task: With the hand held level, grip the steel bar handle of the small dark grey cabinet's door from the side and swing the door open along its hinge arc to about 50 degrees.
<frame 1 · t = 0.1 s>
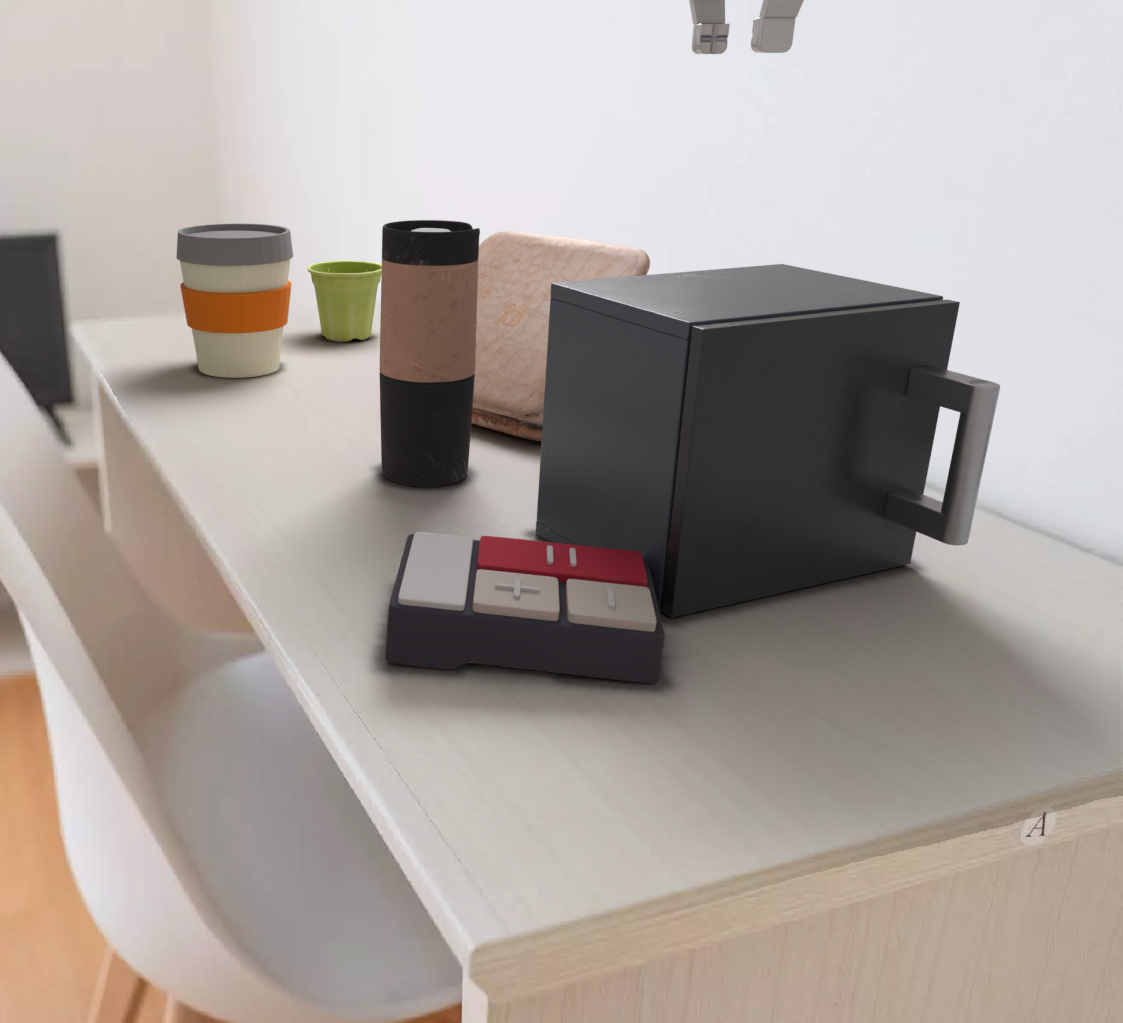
hand: (737, 53, 69), 32 cm above the table, tool pointing down, fingers open, 8 cm apart
plant pot: (346, 338, 144), on the table
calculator: (521, 634, 69), on the table
reusable coffee cup: (239, 369, 129), on the table
dark grey cabinet: (710, 546, 81), on the table
case: (529, 408, 114), on the table
travel mug: (424, 475, 96), on the table
dark grey door: (845, 469, 69), point 9 cm above the table, hinge at 0.0°
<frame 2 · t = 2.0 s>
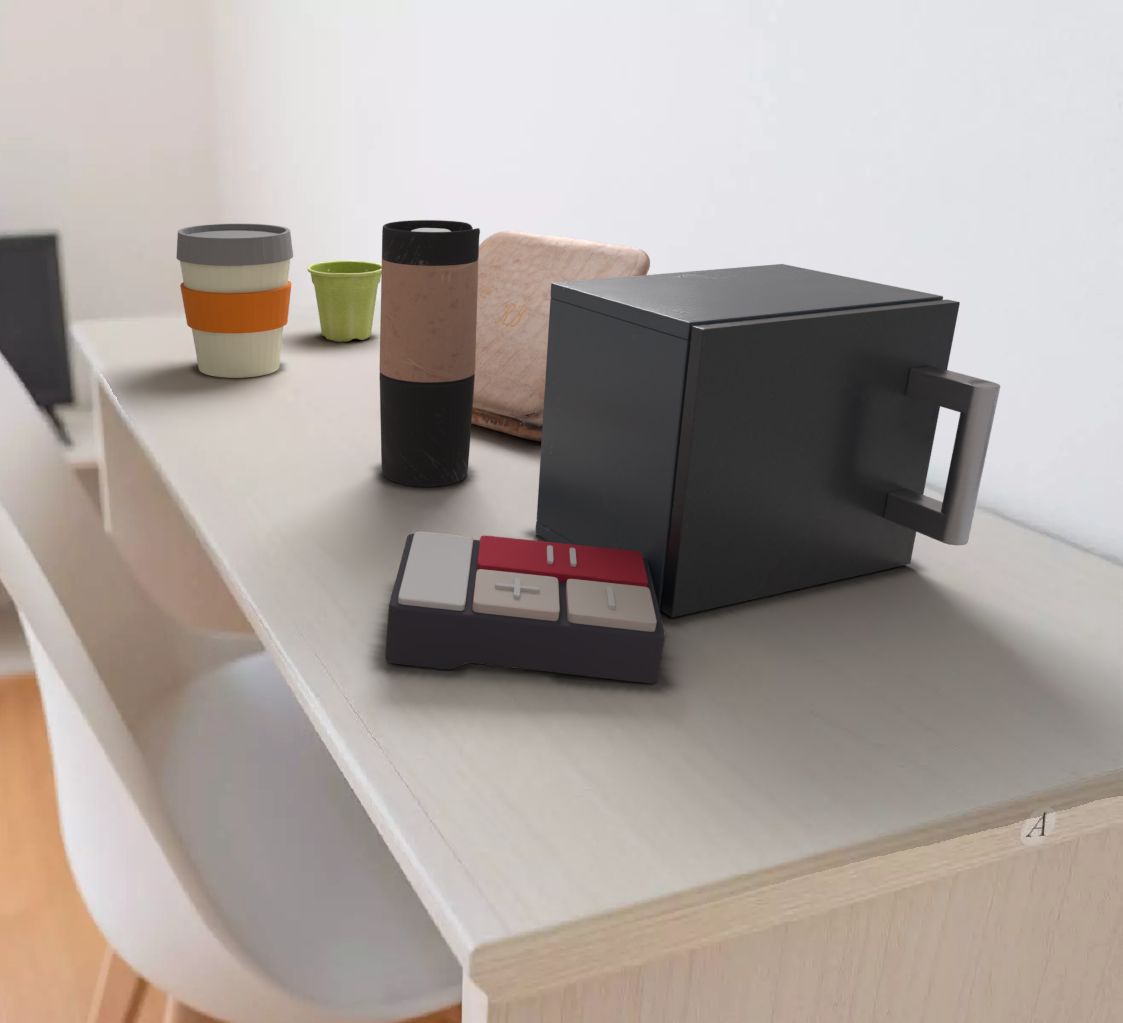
nothing on the table moved.
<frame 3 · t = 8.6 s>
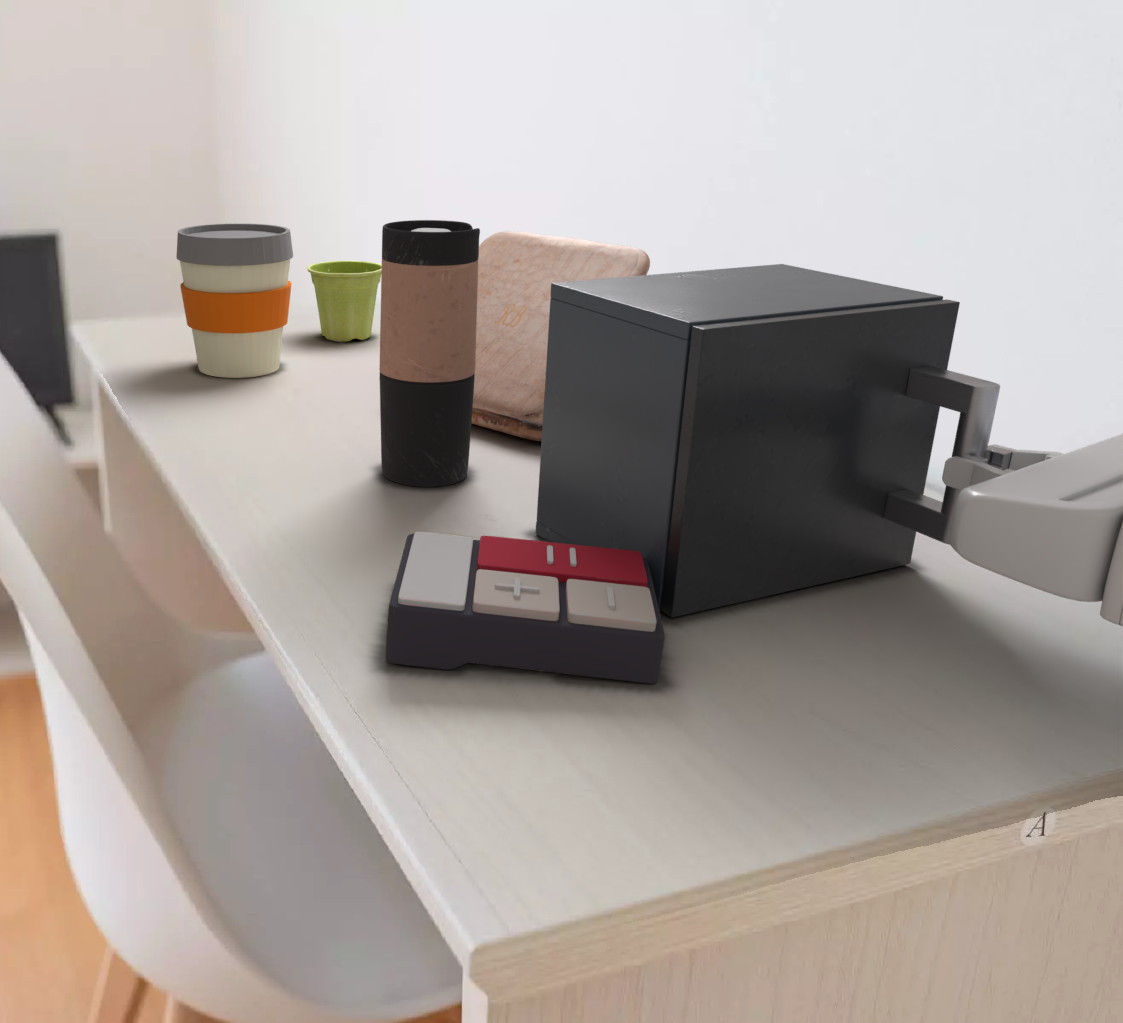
hand: (964, 463, 70), 9 cm above the table, tool horizontal, fingers closed on dark grey door, 2 cm apart
dark grey door: (845, 469, 69), point 9 cm above the table, hinge at 0.0°, touching gripper
everything else where it was.
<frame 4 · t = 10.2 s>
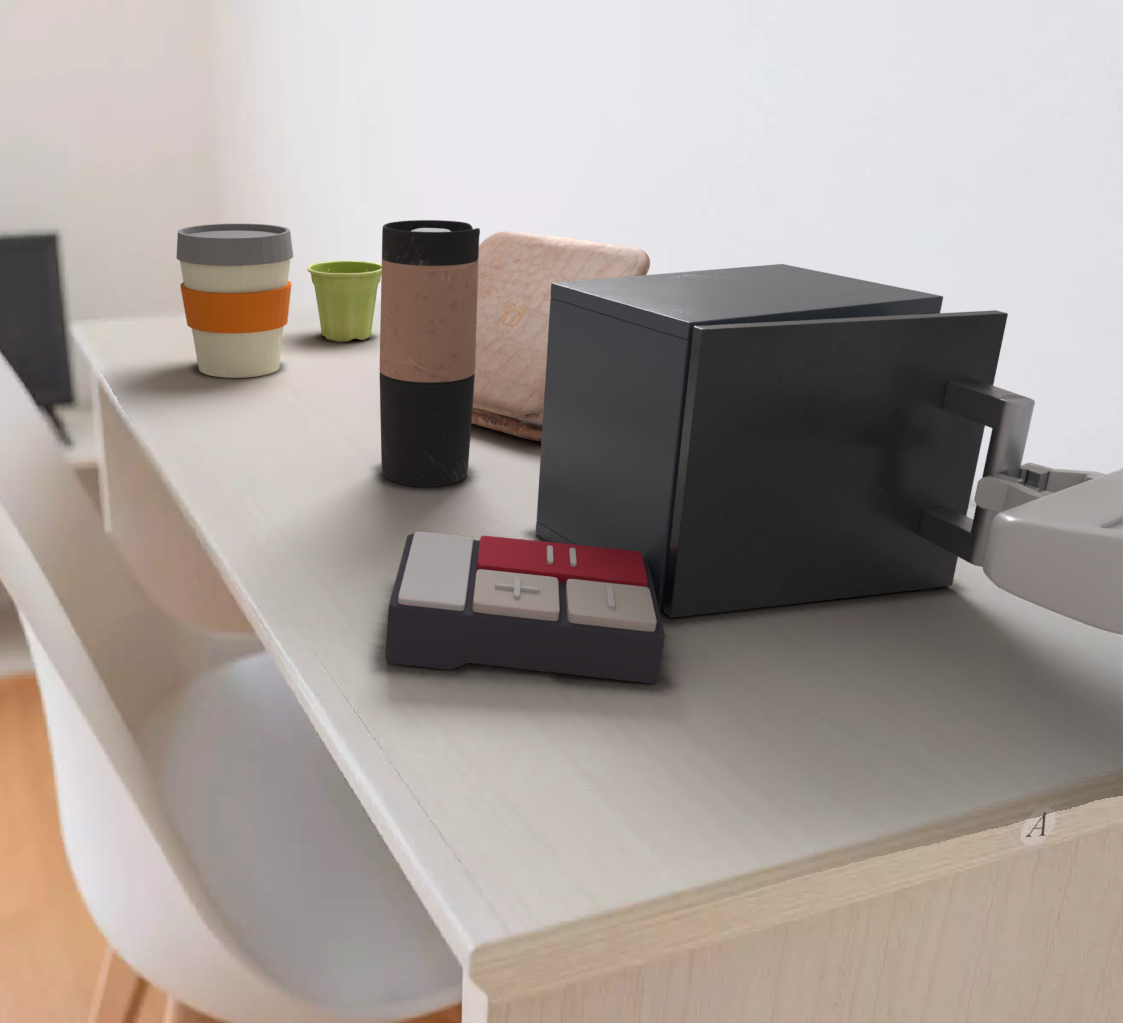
hand: (998, 482, 67), 9 cm above the table, tool horizontal, fingers closed
dark grey door: (860, 479, 67), point 9 cm above the table, hinge at 10.6°, touching gripper
everything else where it was.
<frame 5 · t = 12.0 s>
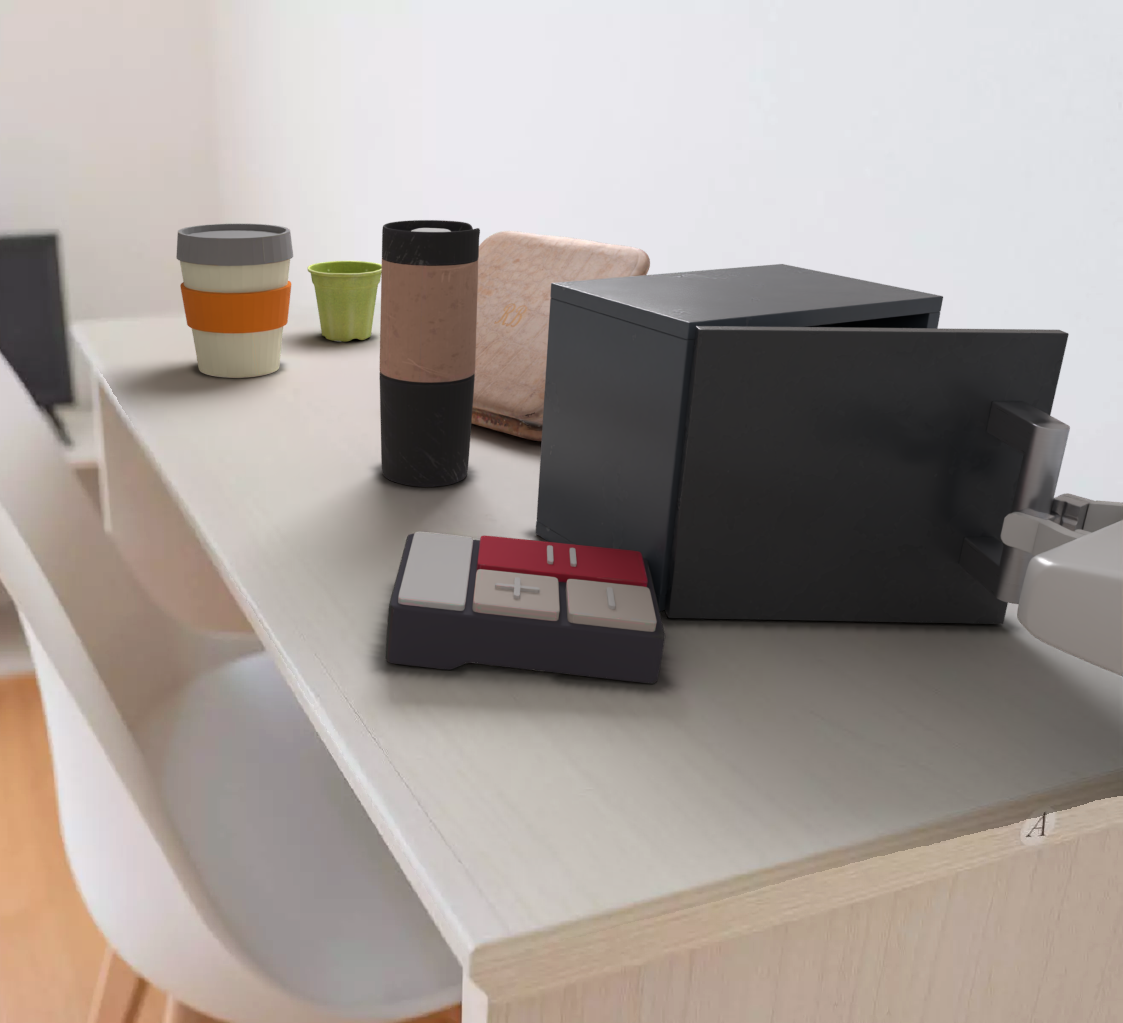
hand: (1029, 516, 62), 9 cm above the table, tool horizontal, fingers closed
dark grey door: (872, 496, 64), point 9 cm above the table, hinge at 26.5°, touching gripper
everything else where it was.
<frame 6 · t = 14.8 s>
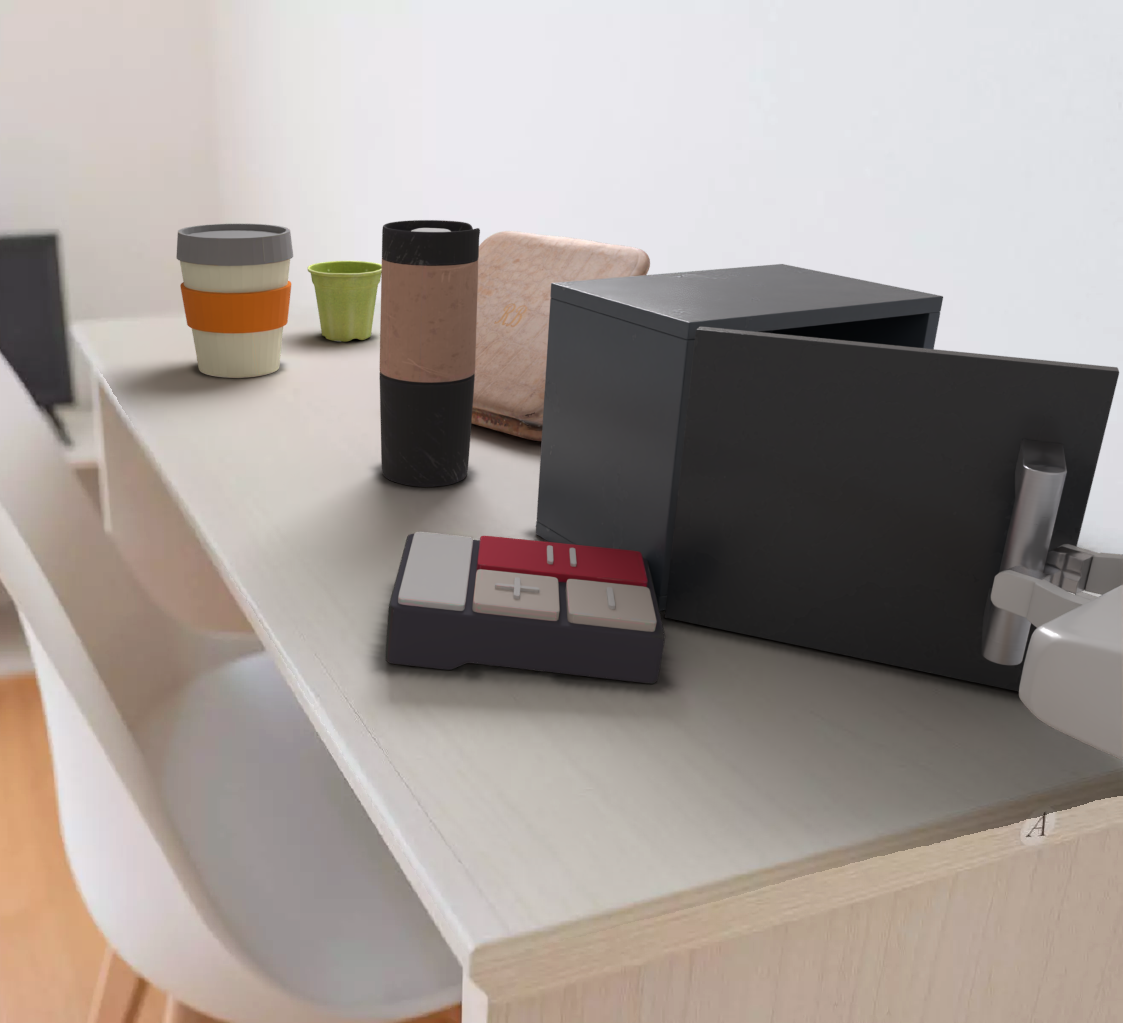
hand: (1024, 572, 55), 9 cm above the table, tool horizontal, fingers open, 3 cm apart
dark grey door: (860, 522, 61), point 9 cm above the table, hinge at 52.2°, touching gripper
everything else where it was.
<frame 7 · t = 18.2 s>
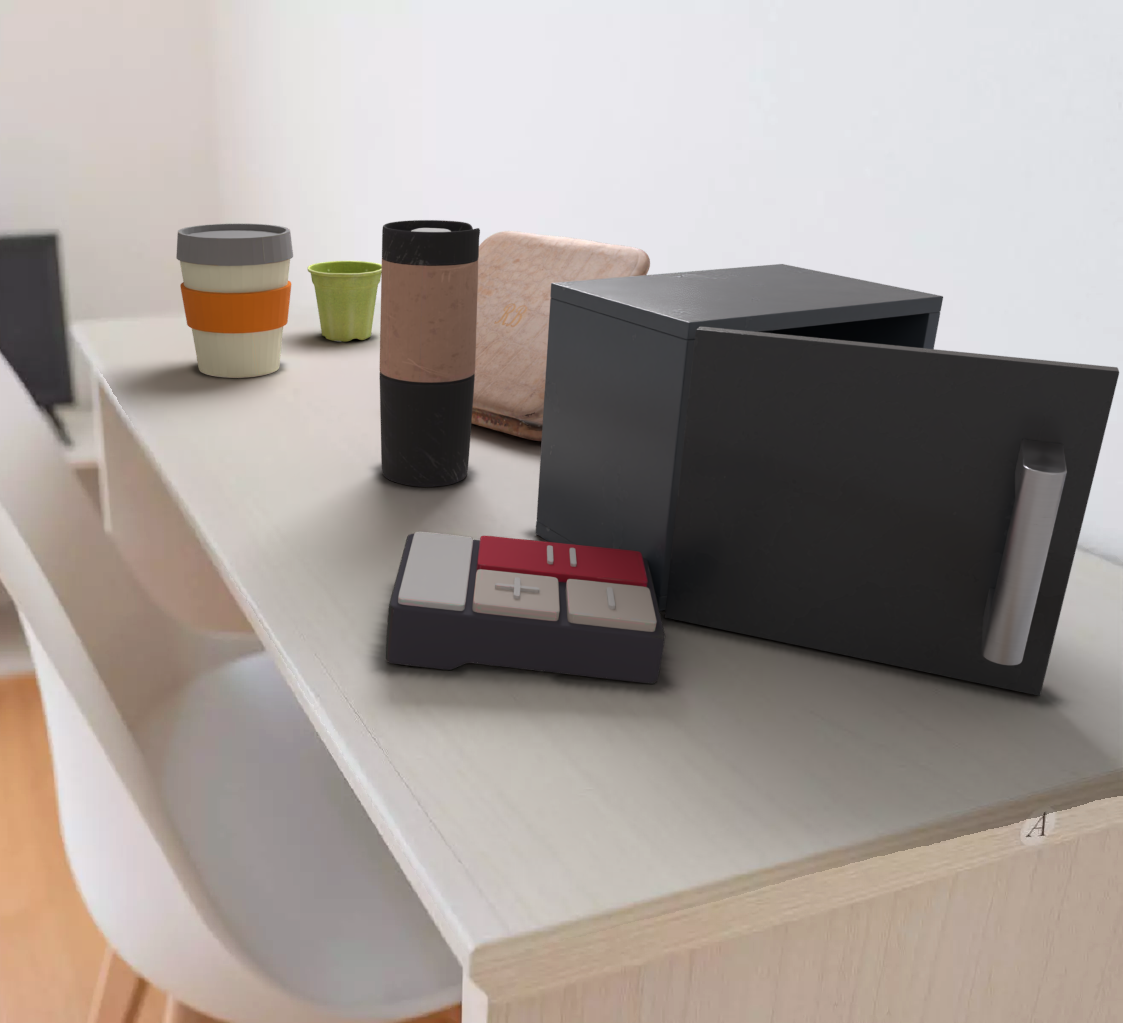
dark grey door: (860, 522, 61), point 9 cm above the table, hinge at 52.2°
everything else where it was.
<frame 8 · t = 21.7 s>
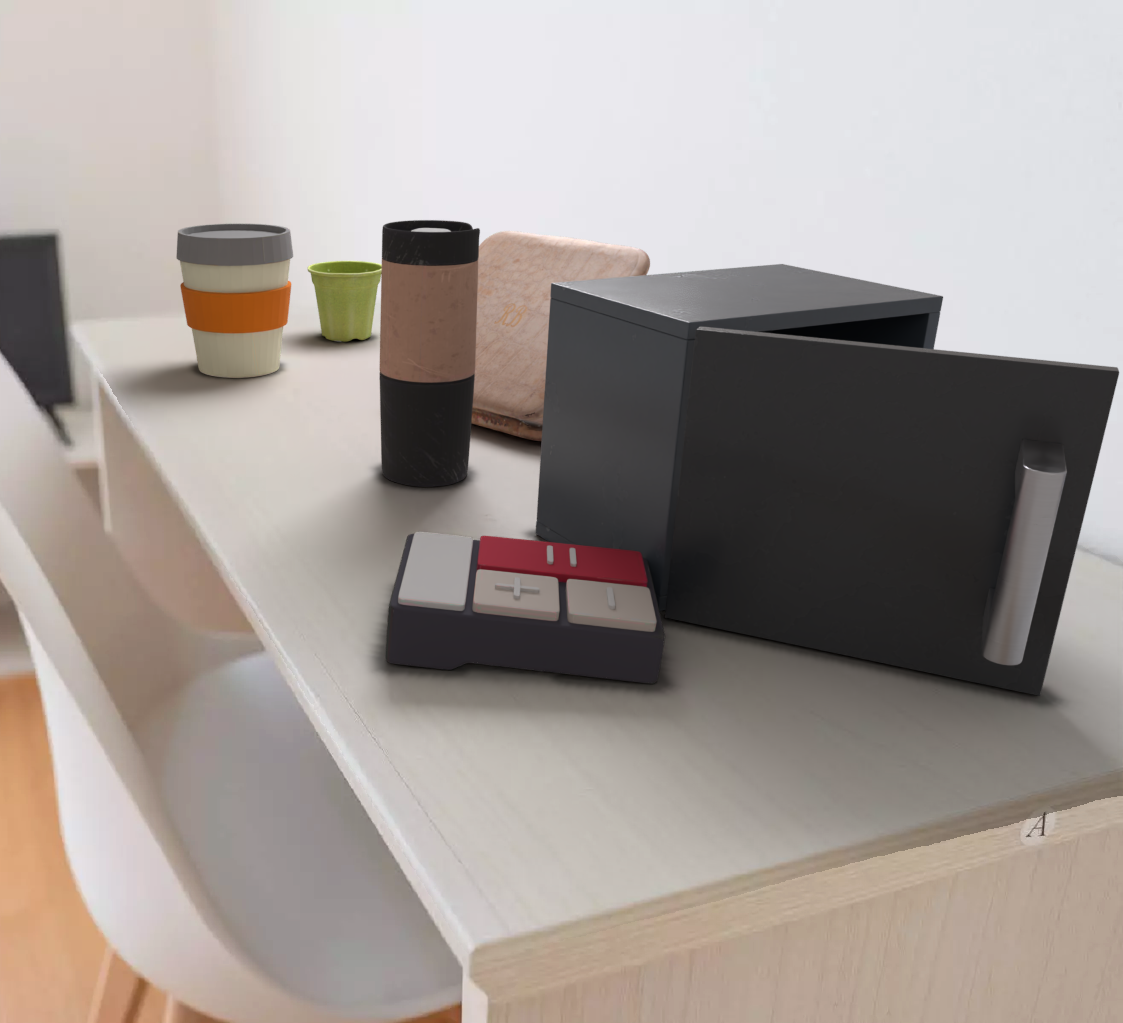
nothing on the table moved.
at the end: dark grey door at +52° (first picture: +0°); the gripper is holding nothing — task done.
